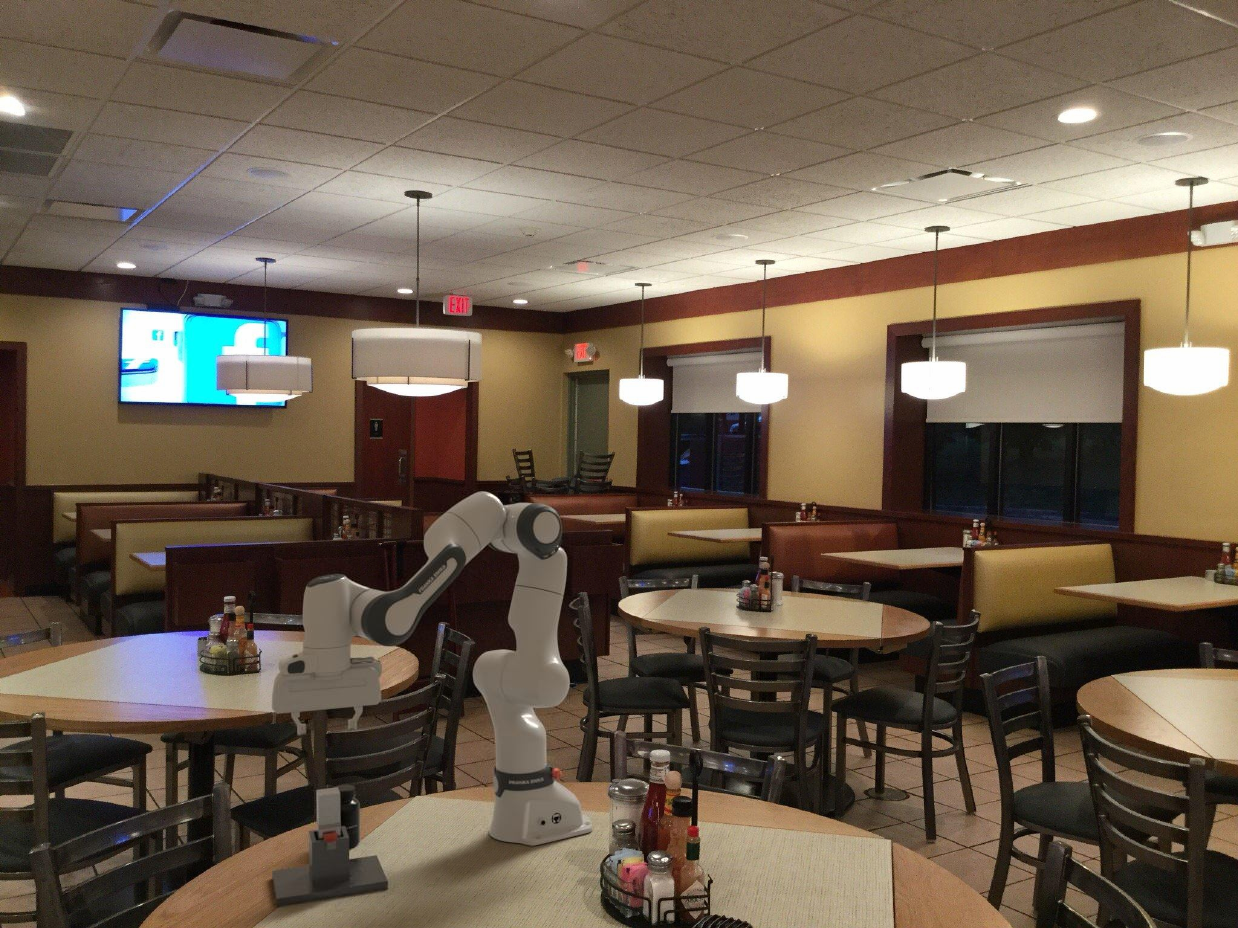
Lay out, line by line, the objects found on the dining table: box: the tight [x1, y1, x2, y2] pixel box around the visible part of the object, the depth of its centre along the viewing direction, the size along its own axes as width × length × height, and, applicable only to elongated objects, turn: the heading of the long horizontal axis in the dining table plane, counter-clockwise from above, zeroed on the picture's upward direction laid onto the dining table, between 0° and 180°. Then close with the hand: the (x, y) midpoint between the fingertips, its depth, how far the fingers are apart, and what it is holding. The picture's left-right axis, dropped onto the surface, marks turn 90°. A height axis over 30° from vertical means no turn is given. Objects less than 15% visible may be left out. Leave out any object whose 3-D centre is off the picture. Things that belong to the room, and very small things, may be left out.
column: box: [315, 786, 341, 841], centre depth 196 cm, size 4×4×16 cm
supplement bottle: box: [332, 784, 361, 849], centre depth 216 cm, size 7×7×12 cm
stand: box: [271, 826, 389, 908], centre depth 196 cm, size 20×14×10 cm
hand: (327, 731), depth 196 cm, fingers open, 8 cm apart
